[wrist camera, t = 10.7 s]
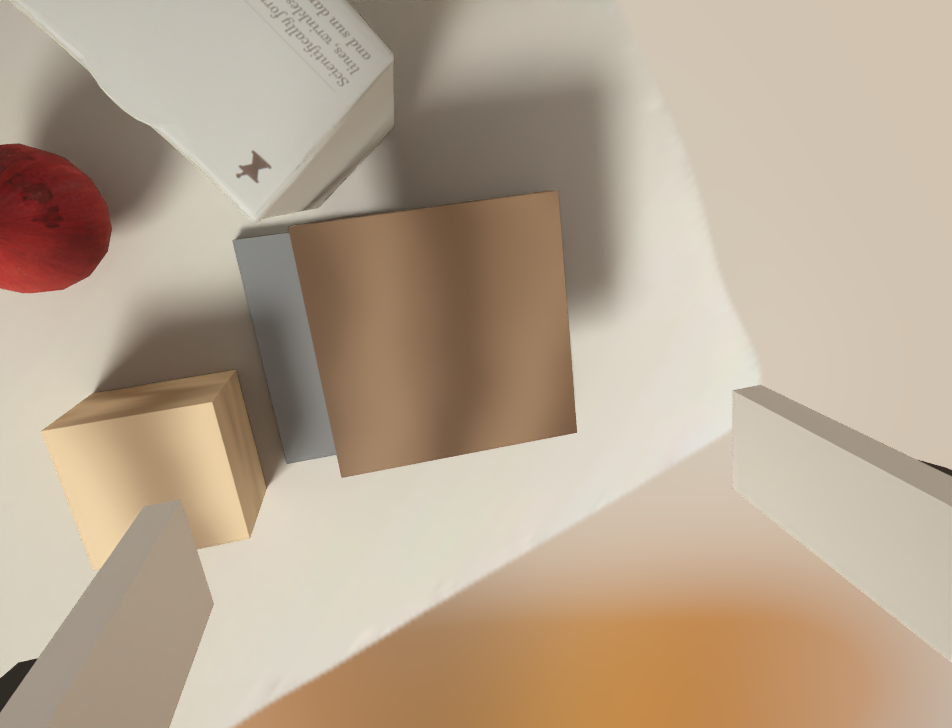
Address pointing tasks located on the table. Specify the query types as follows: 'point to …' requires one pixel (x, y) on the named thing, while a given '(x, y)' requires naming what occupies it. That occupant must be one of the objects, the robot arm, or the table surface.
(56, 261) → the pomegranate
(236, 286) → the table surface
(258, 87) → the skincare box
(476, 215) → the board
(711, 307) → the table surface
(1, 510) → the table surface
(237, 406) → the light wooden block
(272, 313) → the placemat
